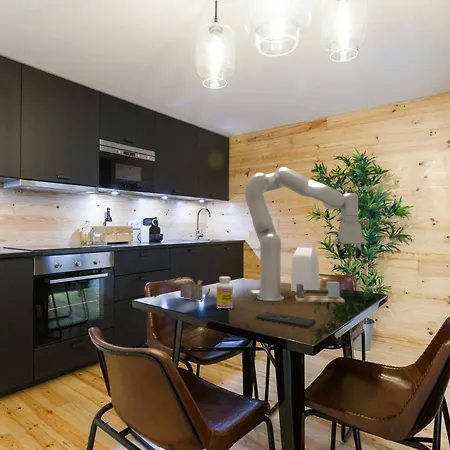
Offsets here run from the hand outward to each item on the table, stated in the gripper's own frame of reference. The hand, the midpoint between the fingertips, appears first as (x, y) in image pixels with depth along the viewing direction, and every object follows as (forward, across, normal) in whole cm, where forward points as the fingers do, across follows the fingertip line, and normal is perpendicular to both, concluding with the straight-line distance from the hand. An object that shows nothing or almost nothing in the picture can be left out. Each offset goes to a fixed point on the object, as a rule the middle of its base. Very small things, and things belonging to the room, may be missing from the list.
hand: (349, 257), depth 156 cm
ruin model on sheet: (+20, -74, -5) cm, 77 cm away
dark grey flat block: (+20, -34, -39) cm, 55 cm away
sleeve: (+18, -8, 0) cm, 20 cm away
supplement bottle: (+20, -57, -21) cm, 64 cm away
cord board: (+20, -14, 0) cm, 24 cm away
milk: (+20, -17, +24) cm, 35 cm away
